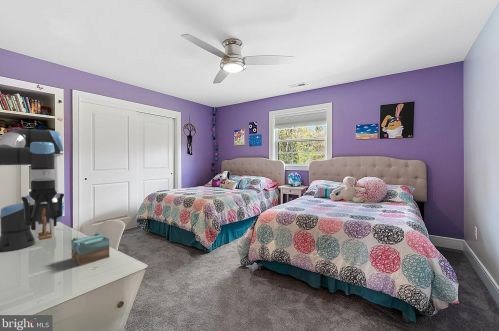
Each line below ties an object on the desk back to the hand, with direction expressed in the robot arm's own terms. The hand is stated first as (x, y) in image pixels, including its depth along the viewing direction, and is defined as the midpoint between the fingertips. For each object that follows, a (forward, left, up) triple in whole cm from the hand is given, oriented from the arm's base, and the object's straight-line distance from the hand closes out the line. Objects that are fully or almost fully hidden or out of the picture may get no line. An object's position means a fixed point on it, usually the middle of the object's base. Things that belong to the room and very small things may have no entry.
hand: (44, 235), depth 98 cm
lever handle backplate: (0, 0, -1) cm, 1 cm away
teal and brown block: (-4, +18, -16) cm, 24 cm away
